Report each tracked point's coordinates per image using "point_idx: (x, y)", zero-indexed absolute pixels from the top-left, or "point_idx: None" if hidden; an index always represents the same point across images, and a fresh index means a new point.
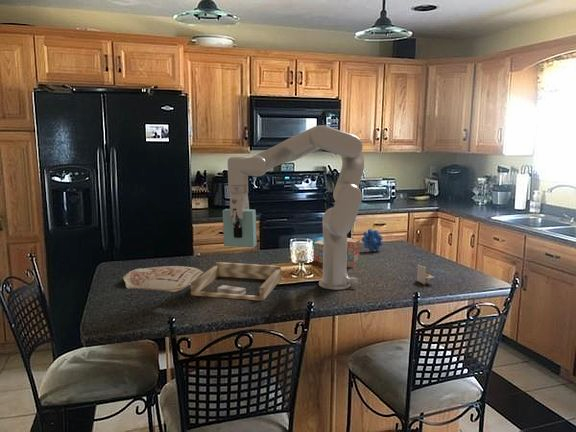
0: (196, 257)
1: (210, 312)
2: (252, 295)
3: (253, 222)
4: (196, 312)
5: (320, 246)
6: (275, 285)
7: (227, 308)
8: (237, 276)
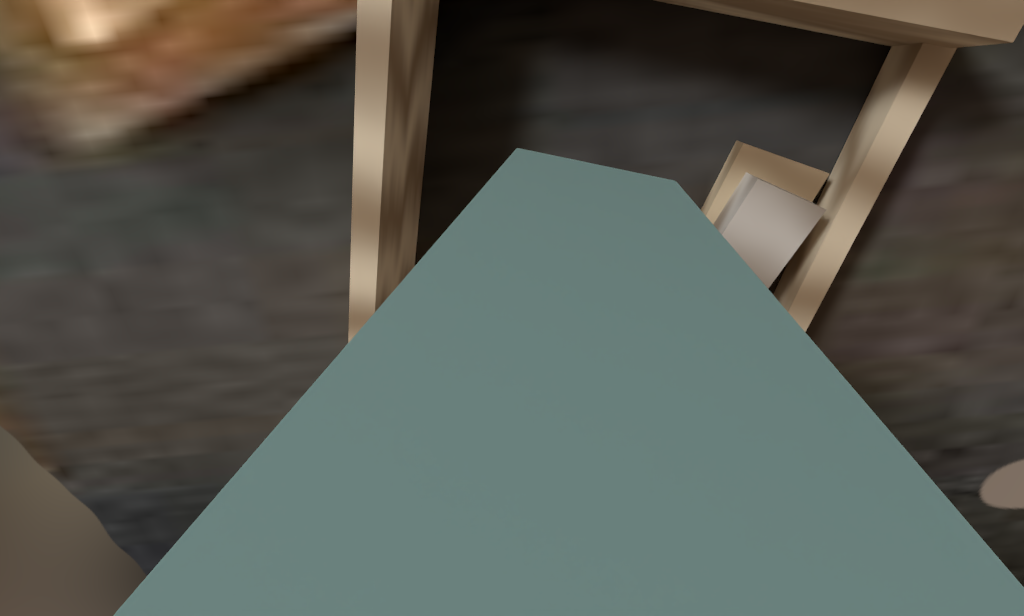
0: (84, 478)
1: (981, 338)
2: (892, 112)
3: (801, 441)
4: (954, 401)
5: None
6: None
7: (943, 257)
8: (407, 261)
